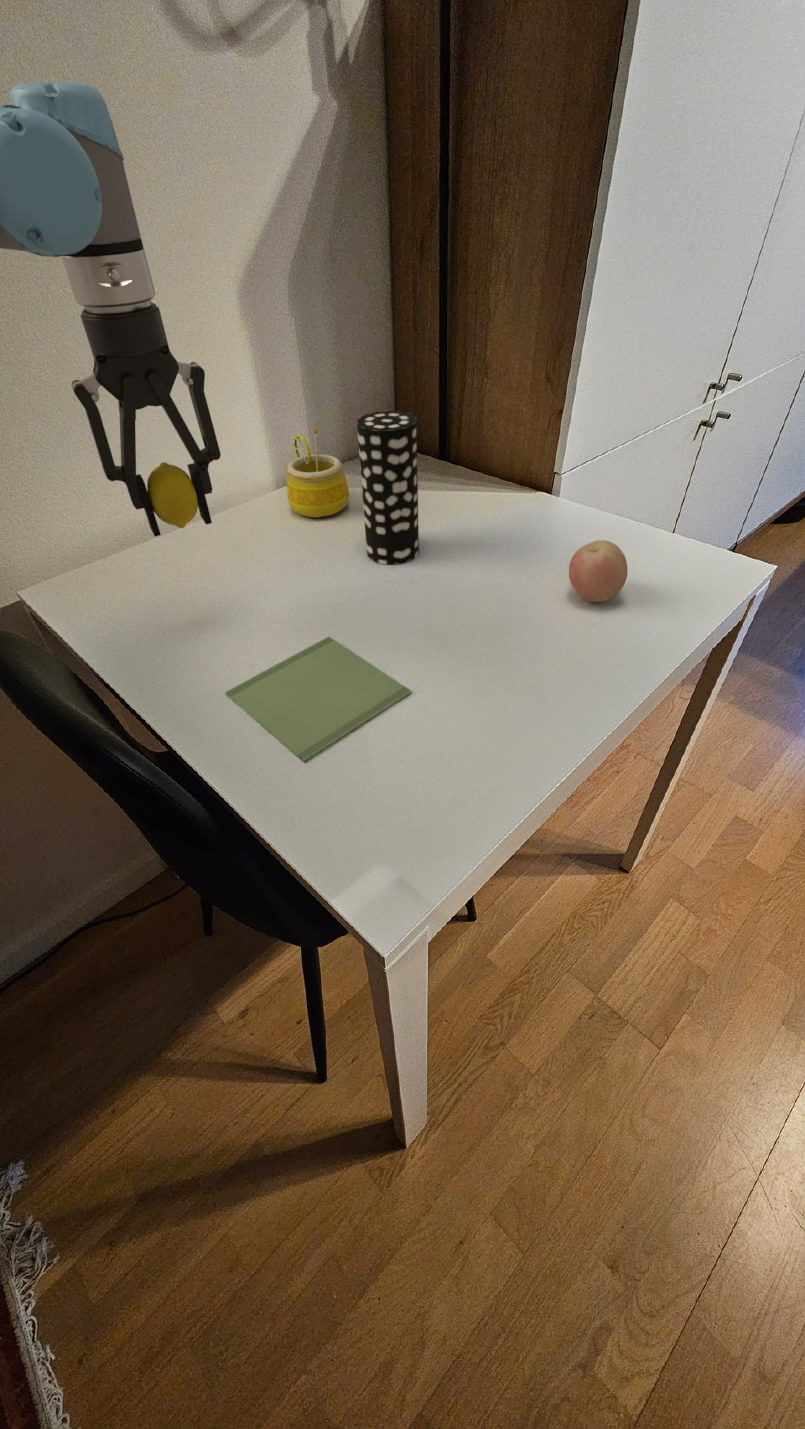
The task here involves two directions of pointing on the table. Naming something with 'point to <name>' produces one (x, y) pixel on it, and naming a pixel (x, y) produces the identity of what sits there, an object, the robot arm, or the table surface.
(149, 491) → the lemon
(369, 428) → the white-spotted black cylinder
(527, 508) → the table surface
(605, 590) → the apple
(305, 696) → the napkin
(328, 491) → the yellow pot
